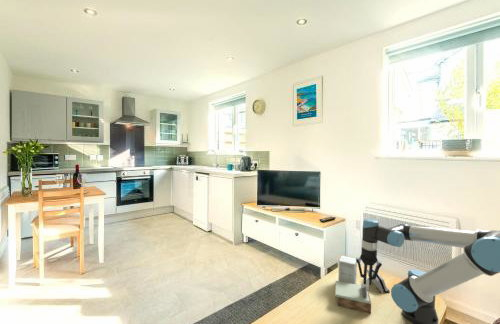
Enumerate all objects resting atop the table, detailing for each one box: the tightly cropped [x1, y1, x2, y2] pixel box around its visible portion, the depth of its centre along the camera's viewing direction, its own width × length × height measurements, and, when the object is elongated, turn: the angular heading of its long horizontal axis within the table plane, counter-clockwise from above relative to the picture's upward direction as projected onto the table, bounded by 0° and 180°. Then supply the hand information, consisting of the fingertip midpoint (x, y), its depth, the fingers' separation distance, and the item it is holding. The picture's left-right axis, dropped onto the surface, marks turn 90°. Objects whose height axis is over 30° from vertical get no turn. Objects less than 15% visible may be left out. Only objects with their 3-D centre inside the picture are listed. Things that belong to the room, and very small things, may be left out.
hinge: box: [367, 268, 391, 294], centre depth 153 cm, size 17×5×10 cm, turn 179°
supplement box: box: [337, 255, 358, 285], centre depth 151 cm, size 10×9×17 cm
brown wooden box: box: [337, 292, 372, 314], centre depth 135 cm, size 16×14×5 cm
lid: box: [335, 280, 371, 303], centre depth 135 cm, size 17×15×4 cm
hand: (366, 290), depth 133 cm, fingers closed
